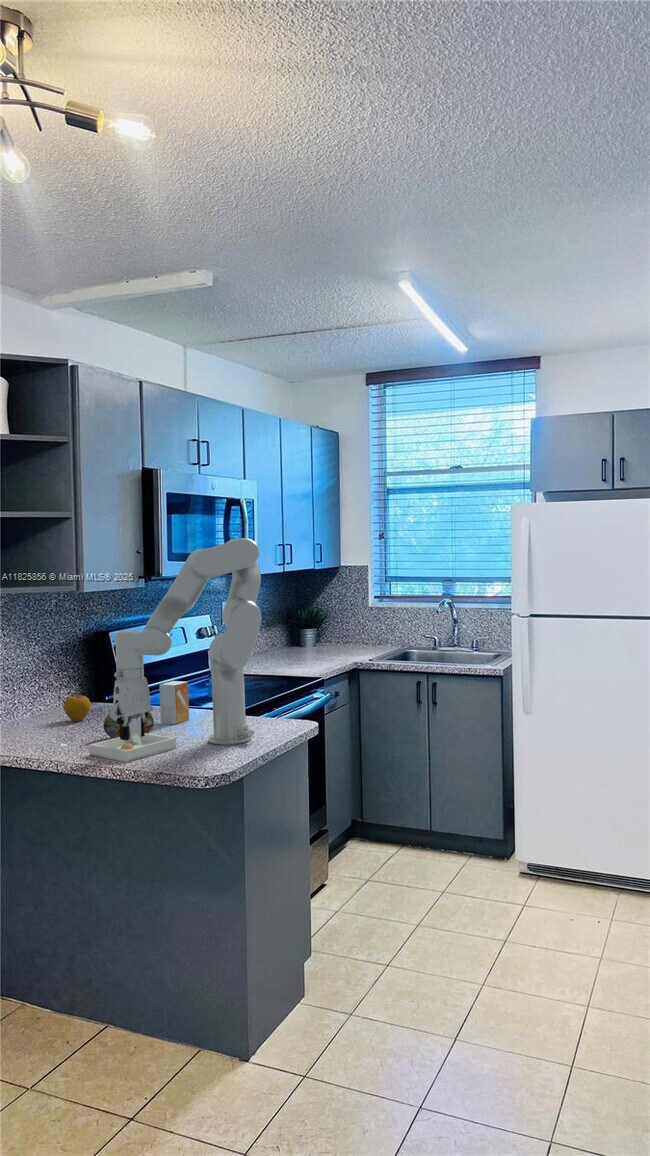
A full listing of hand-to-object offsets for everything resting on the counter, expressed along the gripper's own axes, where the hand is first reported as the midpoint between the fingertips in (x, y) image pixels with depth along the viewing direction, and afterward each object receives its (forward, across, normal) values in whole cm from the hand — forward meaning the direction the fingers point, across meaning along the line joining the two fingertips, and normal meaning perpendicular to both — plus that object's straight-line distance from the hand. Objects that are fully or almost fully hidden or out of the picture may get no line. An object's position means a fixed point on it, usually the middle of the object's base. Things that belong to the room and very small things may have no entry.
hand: (132, 737), depth 239 cm
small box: (+4, +36, +21) cm, 42 cm away
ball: (+2, -6, -5) cm, 8 cm away
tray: (+4, 0, 0) cm, 4 cm away
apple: (+5, +21, +53) cm, 57 cm away
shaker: (+2, 0, 0) cm, 2 cm away
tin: (+4, +13, +17) cm, 22 cm away
